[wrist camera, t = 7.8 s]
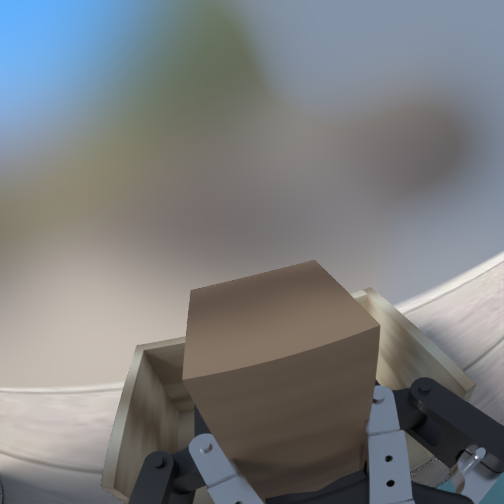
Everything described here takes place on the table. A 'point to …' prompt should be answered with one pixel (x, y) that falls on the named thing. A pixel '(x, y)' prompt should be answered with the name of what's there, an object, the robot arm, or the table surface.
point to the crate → (182, 406)
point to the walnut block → (283, 375)
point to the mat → (497, 498)
